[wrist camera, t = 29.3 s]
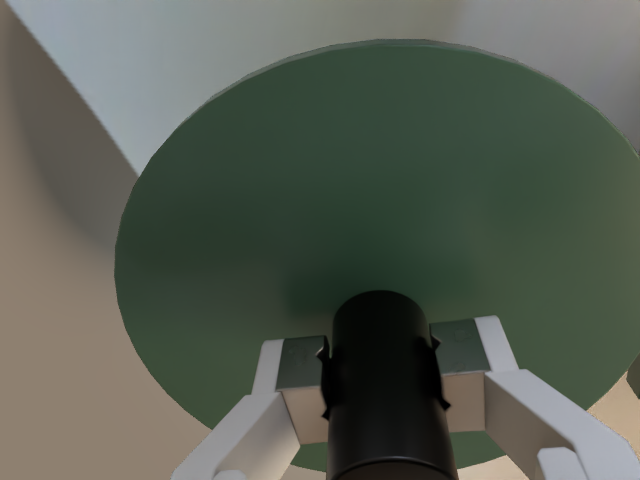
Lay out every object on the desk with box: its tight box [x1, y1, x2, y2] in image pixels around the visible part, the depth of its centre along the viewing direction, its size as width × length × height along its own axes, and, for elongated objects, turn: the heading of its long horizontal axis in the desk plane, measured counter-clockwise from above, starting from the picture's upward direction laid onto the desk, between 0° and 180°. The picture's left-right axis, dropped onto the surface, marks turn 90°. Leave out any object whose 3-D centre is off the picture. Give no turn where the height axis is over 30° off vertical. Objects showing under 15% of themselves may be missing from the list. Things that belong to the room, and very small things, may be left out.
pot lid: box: [114, 39, 640, 480], centre depth 11 cm, size 14×14×6 cm
